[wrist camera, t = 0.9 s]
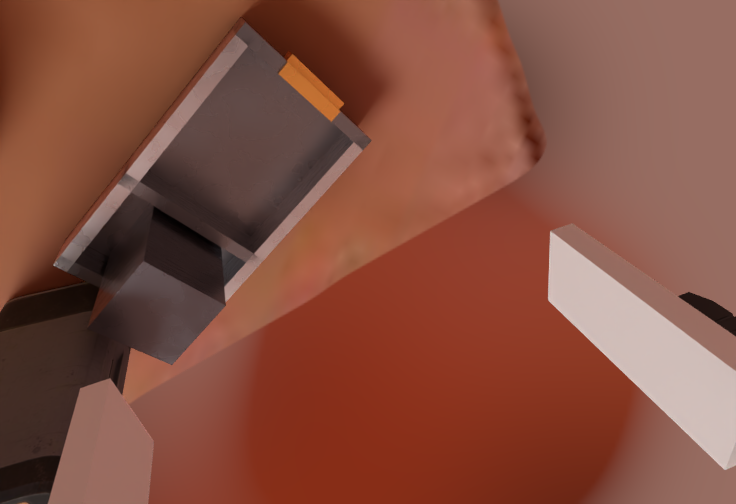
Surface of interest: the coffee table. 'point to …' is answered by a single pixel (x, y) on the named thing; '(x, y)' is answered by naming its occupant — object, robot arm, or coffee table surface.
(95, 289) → the electronic device
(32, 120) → the coffee table surface
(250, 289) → the coffee table surface
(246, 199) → the rack
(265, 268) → the coffee table surface
